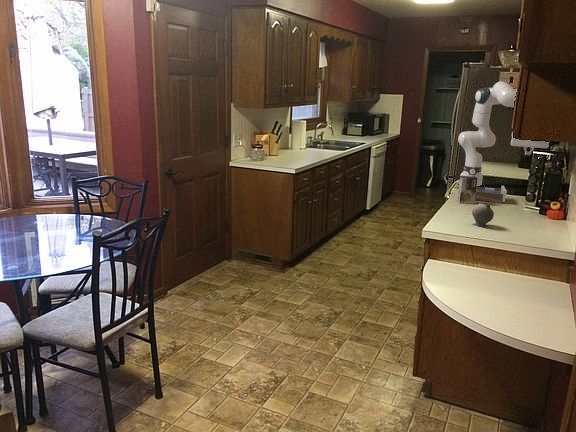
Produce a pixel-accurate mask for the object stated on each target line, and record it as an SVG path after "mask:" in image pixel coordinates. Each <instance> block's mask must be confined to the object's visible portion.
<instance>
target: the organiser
mask: <svg viewBox="0 0 576 432" xmlns="http://www.w3.org/2000/svg"><path fill="white" fill-rule="evenodd" d="M485 188H488V187H486V186H484V187H477V186H476V194H475V202H483V203H492V204H493V203H494V204H500V203H501V204H502V203H503V202H502V197H503V194H500V193H490V192H480V191H477V189H485ZM493 188H494V190H496V191H501V188H498V187H497V188H495V187H493Z"/></svg>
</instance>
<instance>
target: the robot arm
mask: <svg viewBox="0 0 576 432" xmlns="http://www.w3.org/2000/svg"><path fill="white" fill-rule="evenodd" d="M516 92H517V91H516V89H514V88H513V87H512V86H511V85H510V84H508V83H507V82H506V81H503V80H501V81H498V82H496V83H495V84H494V85H493V86H492V87H483V88H482V87H481V88H479V89H477V91H476V92H475V94H474V95H475V96H474V100H475V105H474V109H473V114H472V118H471V122H472V124H473V126H475V127H476V128H478V130H477V131H473V130H472V131H471V130H467V131H462V132H460V133H459V134H458V138H457V141H458V143H459V145H460V146H461V147H462V149H463V150H464V152H465V161H464V162H465V163H464V166H463V171H462V172H461V173H460V175H459V177H460V176H475V177H477V178H478V179H477V186H480V185H482V184H483V177H484V175H483V174H482V170H483V169H482V168H483V167H482V162H483V155H482V154H481V152H478V151H477V150H476V148H489V147H493V146H494V145H495V143H496V140H497V138H496V135H495V134H494V133H493V131H492V130H491V128H490V118H491V115H492V114H491V113H492V107H493V105H496V106H499V105H501V106H503V107H510V108H515V107H514V101H515V94H516ZM510 146H512V147H521V148H523V150H524V155H525V156H531V154H532V152H533V151H534V149H535V148H536V149H537V148H539V149H548V148H549V147H550V141H549V142H545V141H531V140H519V139H515V138H513V131H512V132H511V140H510ZM528 148H530V151H527V149H528Z"/></svg>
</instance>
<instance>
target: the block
mask: <svg viewBox="0 0 576 432" xmlns="http://www.w3.org/2000/svg"><path fill="white" fill-rule="evenodd" d="M494 188H495V187H487V188H485V192H490V193H494Z"/></svg>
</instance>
